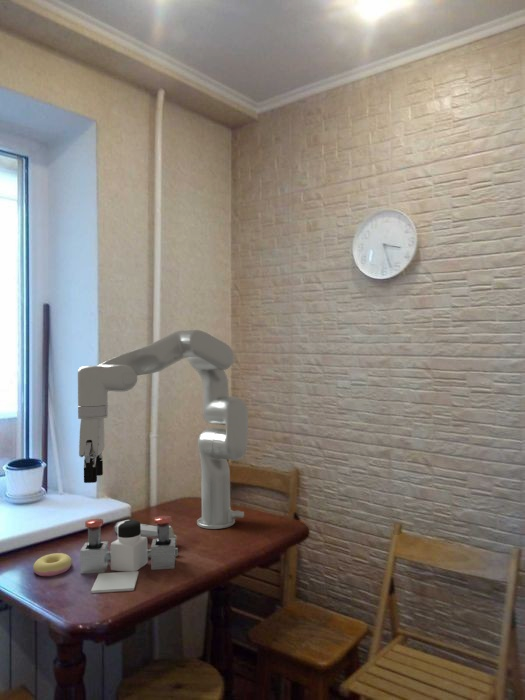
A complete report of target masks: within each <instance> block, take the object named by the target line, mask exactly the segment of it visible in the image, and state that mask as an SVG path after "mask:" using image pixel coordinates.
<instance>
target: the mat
mask: <svg viewBox="0 0 525 700" xmlns="http://www.w3.org/2000/svg"><path fill="white" fill-rule="evenodd" d="M97 574H98V575H97V576H96V579H95V581H94V583H93V585H92V588H91V590H90V594H100V593H114V592H131V591H132V592H133V591H134V590H135V587H136V585H137V580H138V577H139V571H138V570H137V571H134V572H122V571H117V572H104V573H97Z"/></svg>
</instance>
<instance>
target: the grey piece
mask: <svg viewBox="0 0 525 700" xmlns="http://www.w3.org/2000/svg"><path fill="white" fill-rule="evenodd" d="M120 522H122V521H121V520H120V521H117V522H115V524H114V526H113V532H114V533H115V534H116V535H117V525H118V524H119V523H120ZM140 525H141V536H140V537H147V538H148V537H149V538H157V525H150V524H144V523H140ZM169 538H175V548H177V547H176V546H177V539H178V536H177V535H176V534H175V533H174V529H173V526H171V525H169Z"/></svg>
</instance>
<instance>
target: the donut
mask: <svg viewBox="0 0 525 700" xmlns="http://www.w3.org/2000/svg"><path fill="white" fill-rule="evenodd" d="M72 560H73V559H72V558H71V556H69V555H68V554H66V553H62V552H60V553H59V552H56V553H49V554H45V555H43V556H41V557H39V558H38V559H37V560H36V561H35V562H34V563H33V567H32V568H33V571H34V573H35V574H36V575H38V576H40V577H54V576H58V575H60V574H64V573H65V572H67V571H68V570H69V569H70V568H71V566H72V563H73V561H72Z"/></svg>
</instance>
